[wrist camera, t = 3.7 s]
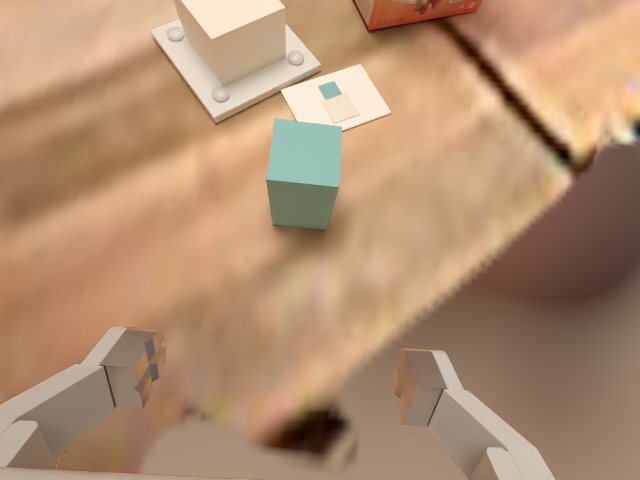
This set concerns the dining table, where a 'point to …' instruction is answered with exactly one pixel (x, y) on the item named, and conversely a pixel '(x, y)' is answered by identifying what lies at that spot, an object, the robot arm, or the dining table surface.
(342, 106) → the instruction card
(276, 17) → the cream brick
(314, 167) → the teal brick
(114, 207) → the dining table surface
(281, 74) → the baseplate
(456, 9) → the cracker box
